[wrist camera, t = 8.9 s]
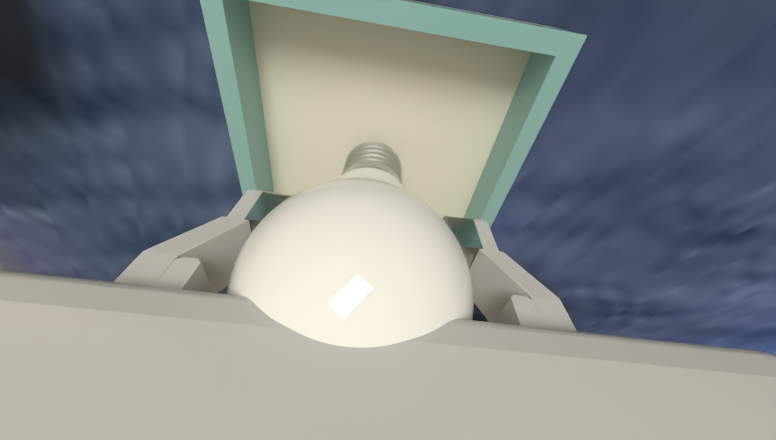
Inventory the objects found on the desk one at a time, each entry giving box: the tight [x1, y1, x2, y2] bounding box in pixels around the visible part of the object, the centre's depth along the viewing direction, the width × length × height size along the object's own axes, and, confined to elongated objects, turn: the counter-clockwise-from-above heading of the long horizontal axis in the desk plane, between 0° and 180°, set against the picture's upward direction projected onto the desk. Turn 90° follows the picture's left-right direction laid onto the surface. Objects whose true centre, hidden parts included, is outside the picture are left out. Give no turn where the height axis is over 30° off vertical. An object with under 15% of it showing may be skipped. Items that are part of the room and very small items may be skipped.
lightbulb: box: [227, 142, 474, 348], centre depth 10 cm, size 6×6×11 cm
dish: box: [200, 0, 587, 228], centre depth 14 cm, size 12×12×3 cm
